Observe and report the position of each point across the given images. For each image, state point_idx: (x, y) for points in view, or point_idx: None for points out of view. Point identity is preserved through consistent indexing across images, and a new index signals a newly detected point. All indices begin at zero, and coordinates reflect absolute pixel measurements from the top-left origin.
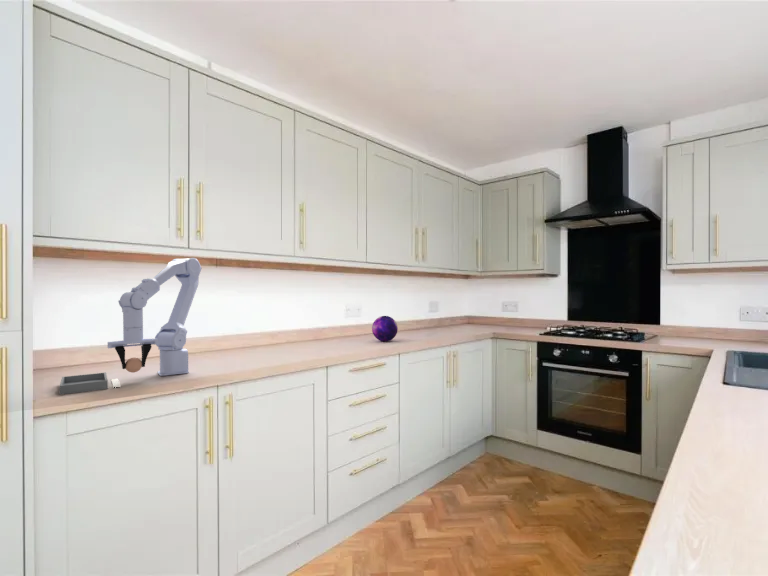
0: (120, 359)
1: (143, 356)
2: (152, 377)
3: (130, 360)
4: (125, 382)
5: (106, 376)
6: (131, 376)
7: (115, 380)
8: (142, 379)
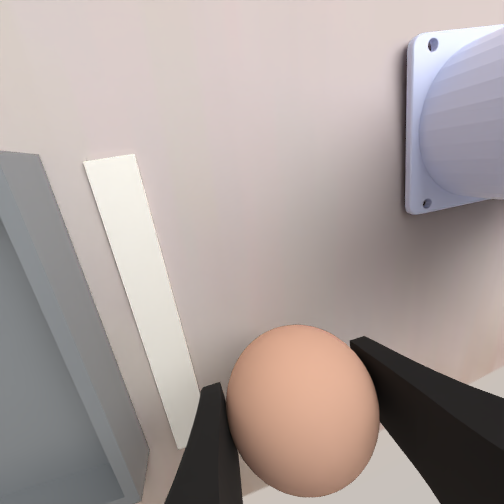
0: (181, 478)
1: (435, 492)
2: (360, 217)
3: (294, 494)
4: (214, 315)
5: (85, 374)
6: (224, 87)
7: (134, 232)
8: (305, 259)
